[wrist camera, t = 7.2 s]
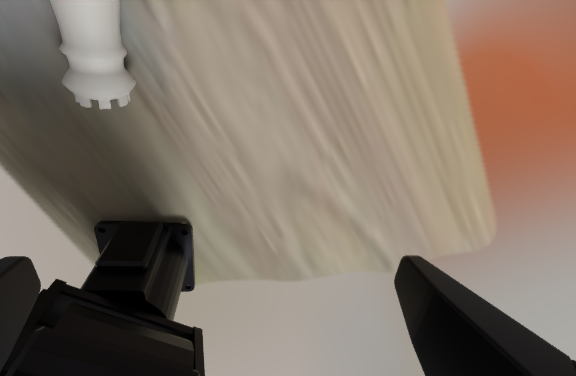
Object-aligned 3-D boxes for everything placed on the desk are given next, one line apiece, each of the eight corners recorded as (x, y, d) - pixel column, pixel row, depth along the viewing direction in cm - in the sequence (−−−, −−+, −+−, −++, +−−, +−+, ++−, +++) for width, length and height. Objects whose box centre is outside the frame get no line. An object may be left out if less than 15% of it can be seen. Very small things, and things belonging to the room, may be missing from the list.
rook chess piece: (-17, -120, 12) (44, 89, 16) (-8, -132, 9) (61, 122, 13) (112, -88, 14) (134, 84, 19) (147, -91, 12) (163, 110, 16)
